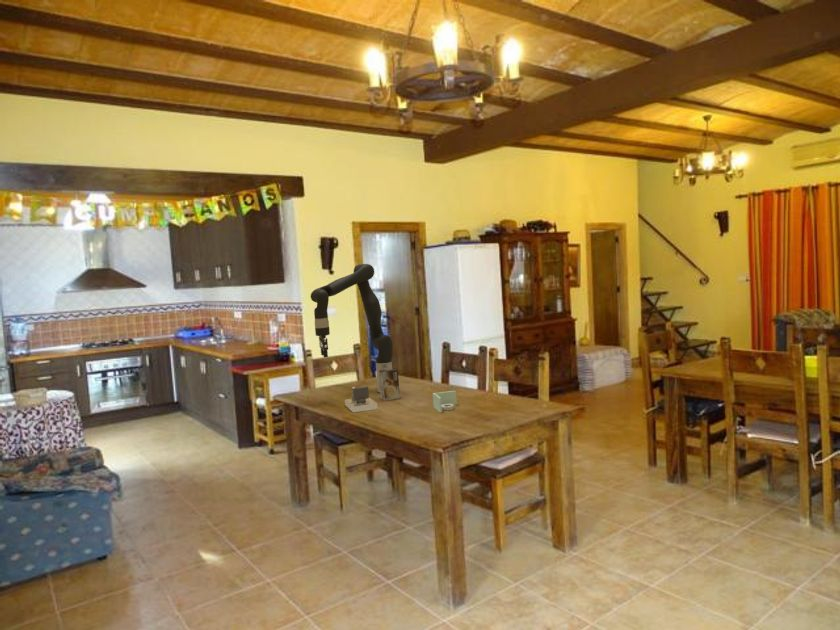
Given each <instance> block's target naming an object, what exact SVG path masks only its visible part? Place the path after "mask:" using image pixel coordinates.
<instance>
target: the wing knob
mask: <svg viewBox="0 0 840 630" xmlns="http://www.w3.org/2000/svg"><path fill="white" fill-rule="evenodd" d="M351 391H352V393H351V394H352V395H353V400H356V402H357V403H363V402H366V399H368V398H369V397H370V392H369V386H357V387H355V386H352V387H351Z"/></svg>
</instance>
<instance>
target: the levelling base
mask: <svg viewBox="0 0 840 630" xmlns="http://www.w3.org/2000/svg"><path fill="white" fill-rule="evenodd" d="M344 406H345V407H347V409H348V410H349V411H351V413H359V412H366V411H374V410H378V402H376V401H375V400H373V398H371V397H370V396H369V398H368V399H366V402H363V403H357V402H356V400H353V394H352V395H351V398H346V399H344Z"/></svg>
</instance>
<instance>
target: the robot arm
mask: <svg viewBox="0 0 840 630" xmlns="http://www.w3.org/2000/svg"><path fill="white" fill-rule="evenodd" d="M374 275H375V268H374V266H373V265H371V264H369V263H361V264H357V265H355V267H354V268H353V273H351V274H348V275H346V276H343V277H340V278H338V279H335V280H333V281H331V282H329V283H328V284H326V285H323V286H320V287H318V288H315V289H314V290H313V291H312V292H311V293H310V300H311V301H313V303H316V307H315V308H314V311H313V312H314V313H313V314H314V330H315V336H316V337H318V341H319V343H318V345H319V348H320V355H321V356H323V358H328V357H329V356H328V355H329V354H328V350H329V344H328V338H327V337H326V336H329V335H331V333H330V321H329V314H328V308H329V301H330V300H329V298H330V297H333V296H336V295H338V294H339V293H342V292H344V291H345V290H348V289H349V288H351V287H353V286H355V285H357V288H358V290H359V294H360V297H361V301H362V304H363V309H364V312H365V316H366V320H367V323H368V327H369V330H370V331H369V332H370V337H371V342H372V345H373V348H374V349H376V350H377V351H378V352H377V356H376V357H375V371H376V386H377V387H376V388H377V392H378V393H380V394H381V390H380V377H379V370H386V369H393V363H392V362H393V361H392V358H393V355H394V353H393V349H394V347H393V340H392V338H391V337H390V336H389V335H387V334H384V332H383V328H382V323H381V322H382V307H381V304H380V301H379V299H378V297H377V295H376V294H375V292H374V291H373V289H372V287H371V284H370V281H369V280H371V279H372V278H373V277H374Z"/></svg>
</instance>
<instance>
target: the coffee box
mask: <svg viewBox="0 0 840 630" xmlns="http://www.w3.org/2000/svg"><path fill="white" fill-rule="evenodd" d="M379 377H380V390H381V393H380V399H381V400H383V401H384V402H386V401H393V400H397V399H398V400H399V399H401V394H400V382H399V370H398V369H396V368H392V369H386V370H379Z"/></svg>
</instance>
